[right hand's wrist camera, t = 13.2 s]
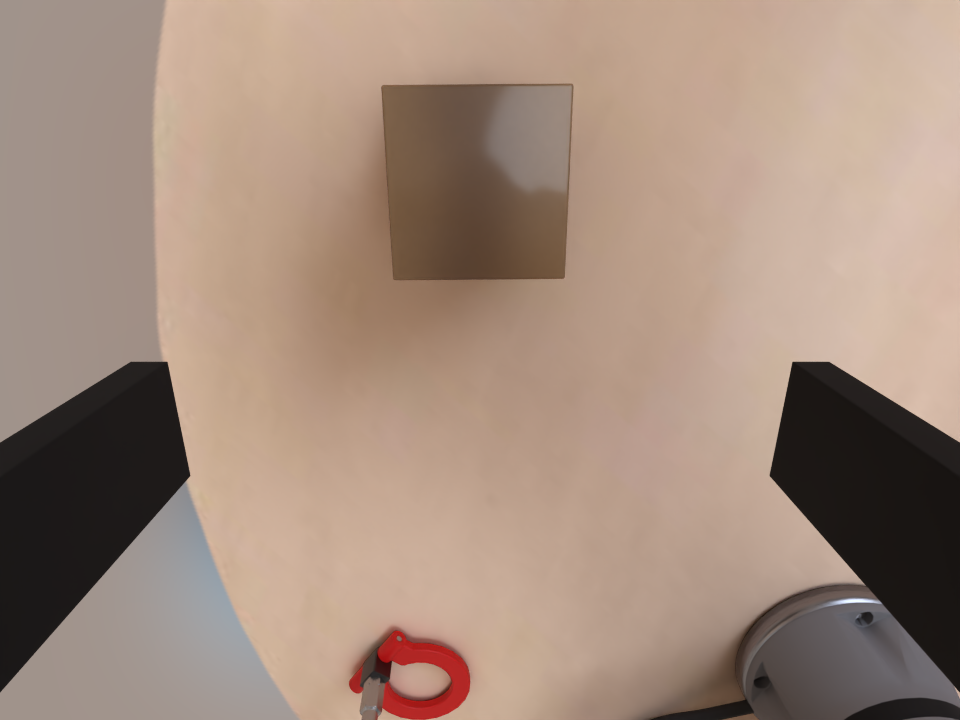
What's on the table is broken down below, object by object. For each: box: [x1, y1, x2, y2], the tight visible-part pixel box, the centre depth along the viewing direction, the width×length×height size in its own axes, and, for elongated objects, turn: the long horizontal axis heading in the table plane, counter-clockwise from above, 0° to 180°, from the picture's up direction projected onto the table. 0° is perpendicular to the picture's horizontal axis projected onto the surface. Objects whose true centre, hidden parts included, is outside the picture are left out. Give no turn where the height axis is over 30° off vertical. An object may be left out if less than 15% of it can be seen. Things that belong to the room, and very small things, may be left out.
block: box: [381, 84, 573, 280], centre depth 30 cm, size 8×8×11 cm
